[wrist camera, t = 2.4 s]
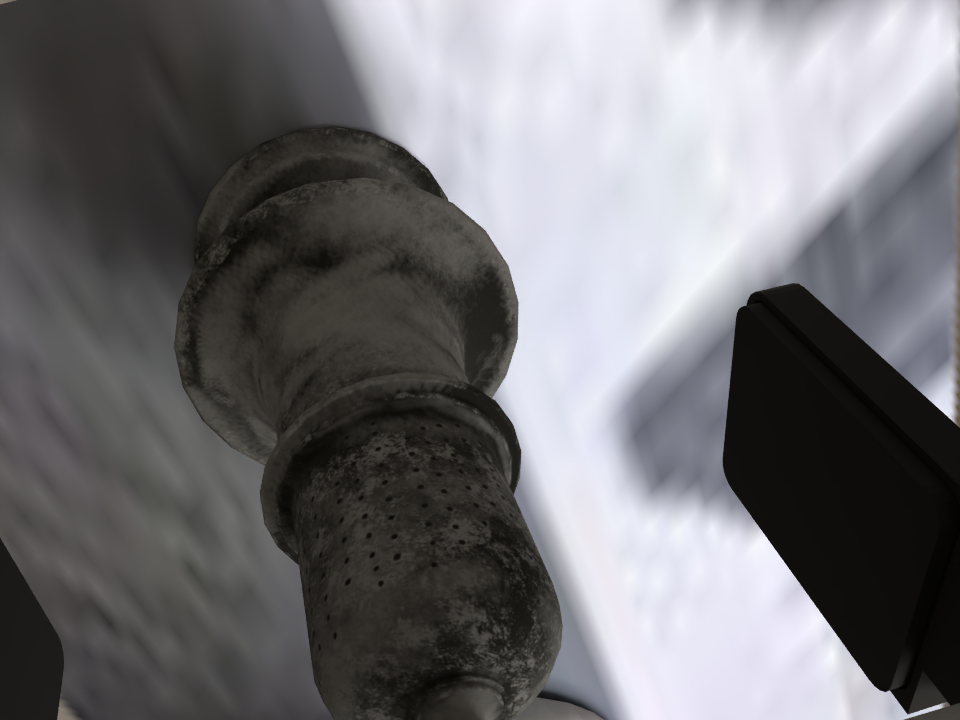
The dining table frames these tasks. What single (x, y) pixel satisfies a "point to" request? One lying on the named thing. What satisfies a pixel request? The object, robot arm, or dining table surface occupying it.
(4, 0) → the scale
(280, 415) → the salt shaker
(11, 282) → the dining table surface
